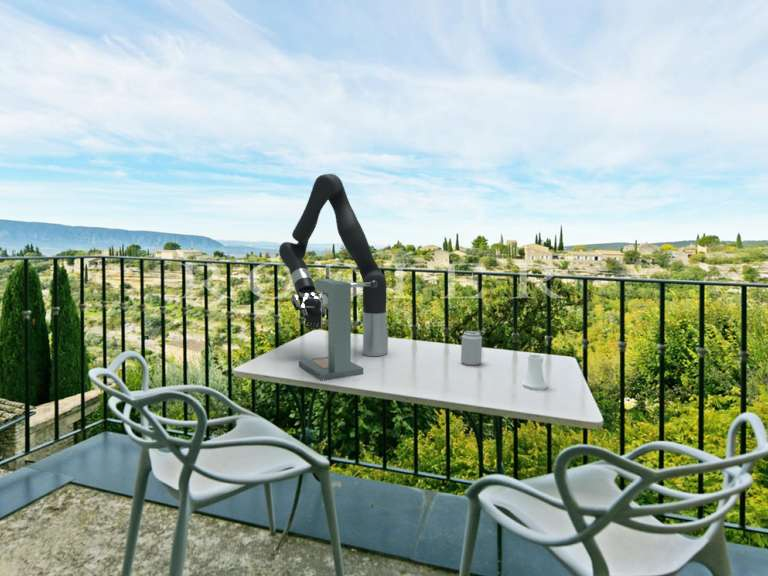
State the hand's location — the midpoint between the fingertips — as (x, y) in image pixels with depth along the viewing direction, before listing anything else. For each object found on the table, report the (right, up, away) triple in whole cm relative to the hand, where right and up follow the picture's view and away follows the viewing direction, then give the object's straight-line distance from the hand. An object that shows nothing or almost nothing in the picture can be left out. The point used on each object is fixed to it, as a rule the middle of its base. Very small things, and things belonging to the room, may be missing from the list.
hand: (315, 316), depth 184 cm
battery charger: (-1, -5, +2) cm, 5 cm away
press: (+11, -18, -6) cm, 22 cm away
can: (+59, -18, +1) cm, 61 cm away
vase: (+75, -21, -25) cm, 82 cm away
